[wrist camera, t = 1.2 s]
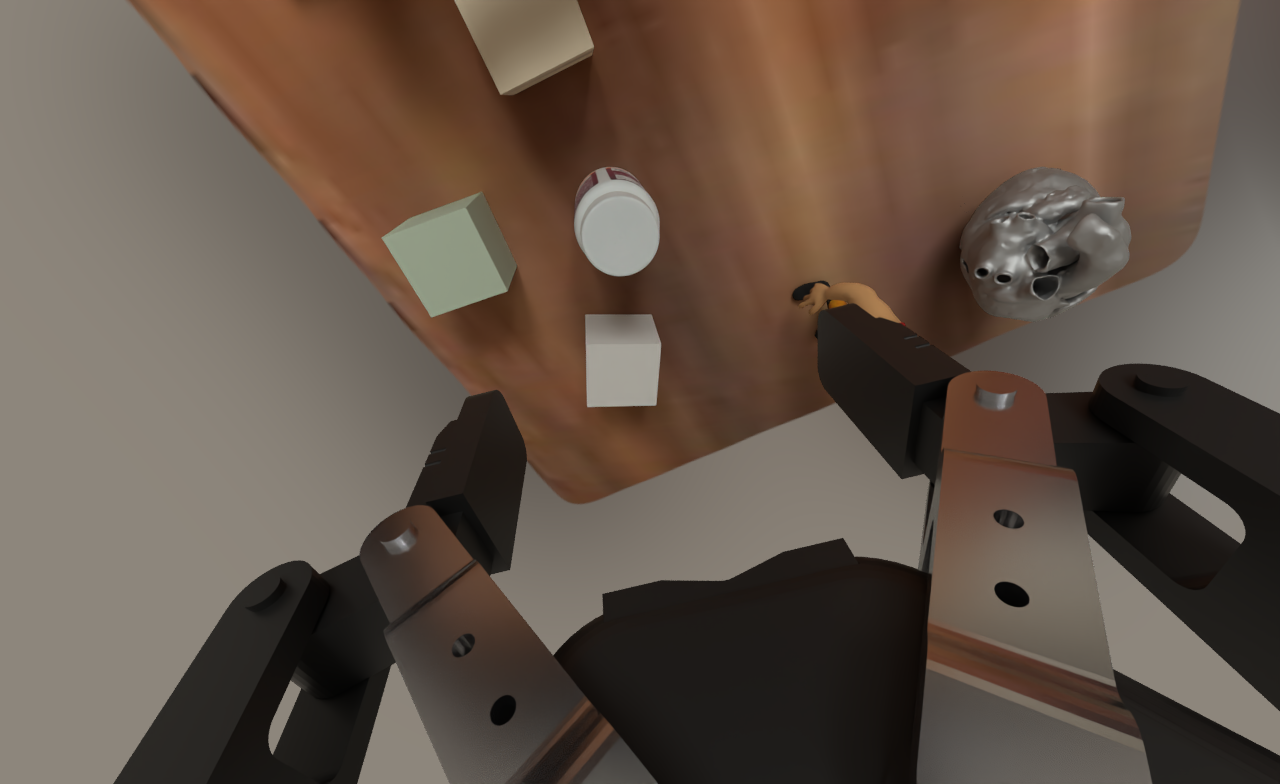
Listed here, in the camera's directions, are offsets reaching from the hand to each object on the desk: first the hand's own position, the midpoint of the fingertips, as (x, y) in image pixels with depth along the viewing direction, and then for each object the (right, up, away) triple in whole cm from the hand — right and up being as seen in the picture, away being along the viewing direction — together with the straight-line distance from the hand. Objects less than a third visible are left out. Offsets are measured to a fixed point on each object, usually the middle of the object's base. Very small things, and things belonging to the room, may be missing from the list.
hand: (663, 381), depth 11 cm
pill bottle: (-2, +12, +19) cm, 22 cm away
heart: (+24, +12, +22) cm, 35 cm away
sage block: (-12, +10, +19) cm, 24 cm away
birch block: (-6, +20, +13) cm, 25 cm away
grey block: (-2, +3, +24) cm, 25 cm away
